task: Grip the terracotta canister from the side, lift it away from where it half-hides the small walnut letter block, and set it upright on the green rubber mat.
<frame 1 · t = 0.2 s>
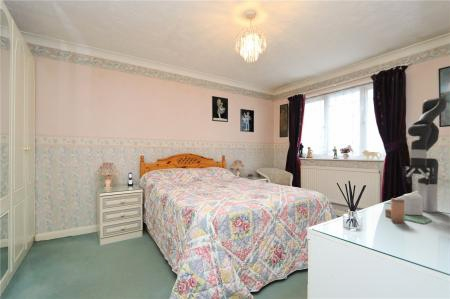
hand: (417, 184, 133), 18 cm above the table, tool pointing down, fingers open, 8 cm apart
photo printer: (412, 214, 131), on the table
letter block: (391, 216, 126), on the table
canister: (397, 221, 117), on the table
green mat: (415, 220, 119), on the table
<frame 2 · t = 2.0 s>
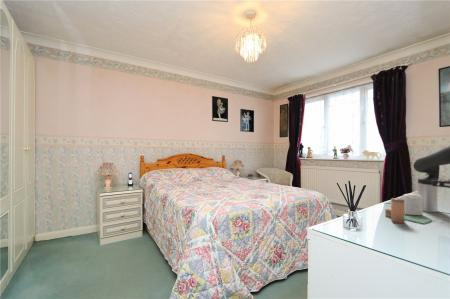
hand: (425, 181, 107), 23 cm above the table, tool horizontal, fingers open, 8 cm apart
nothing on the table moved.
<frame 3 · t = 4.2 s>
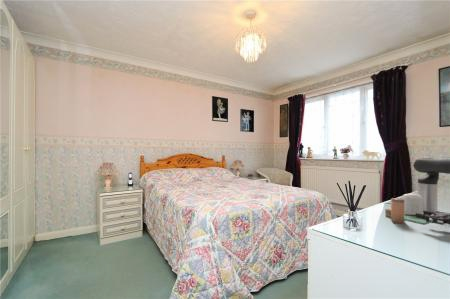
hand: (419, 214, 109), 6 cm above the table, tool horizontal, fingers open, 8 cm apart
nothing on the table moved.
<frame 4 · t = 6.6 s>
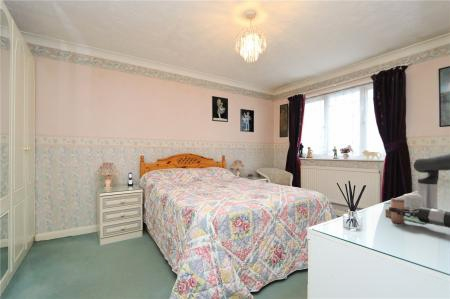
hand: (392, 208, 119), 7 cm above the table, tool horizontal, fingers closed on canister, 5 cm apart
canister: (397, 221, 117), on the table, touching gripper
everything else where it was.
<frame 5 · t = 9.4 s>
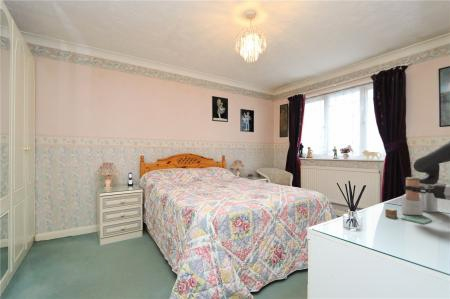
hand: (406, 187, 122), 18 cm above the table, tool horizontal, fingers closed on canister, 5 cm apart
canister: (412, 199, 120), point 11 cm above the table, touching gripper
everything else where it was.
when the fingers open (9 cm above the table, at t = 12.3 s): canister drops 1 cm, resting on green mat.
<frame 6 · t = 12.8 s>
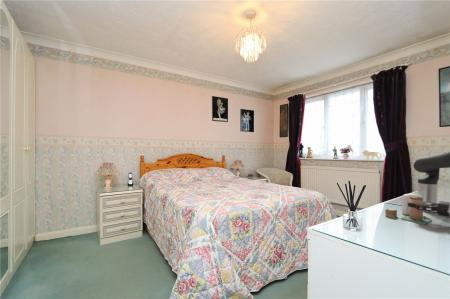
hand: (411, 203, 121), 9 cm above the table, tool horizontal, fingers open, 8 cm apart
canister: (416, 219, 119), point 1 cm above the table, touching green mat
everything else where it was.
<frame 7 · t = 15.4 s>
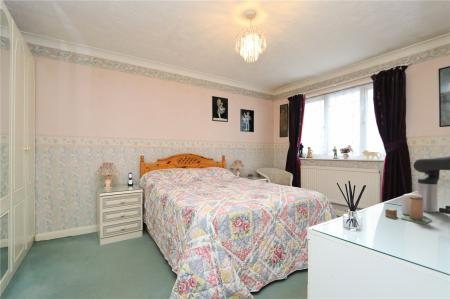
hand: (442, 208, 110), 9 cm above the table, tool horizontal, fingers open, 8 cm apart
nothing on the table moved.
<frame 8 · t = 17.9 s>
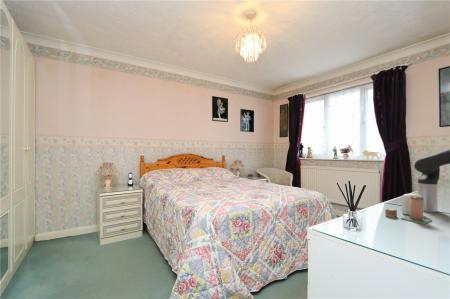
nothing on the table moved.
at the end: canister 0.1 cm off-centre on the green mat, point 0.7 cm above the green mat's base; canister tilted 1°; letter block moved 0.1 cm from its start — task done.
